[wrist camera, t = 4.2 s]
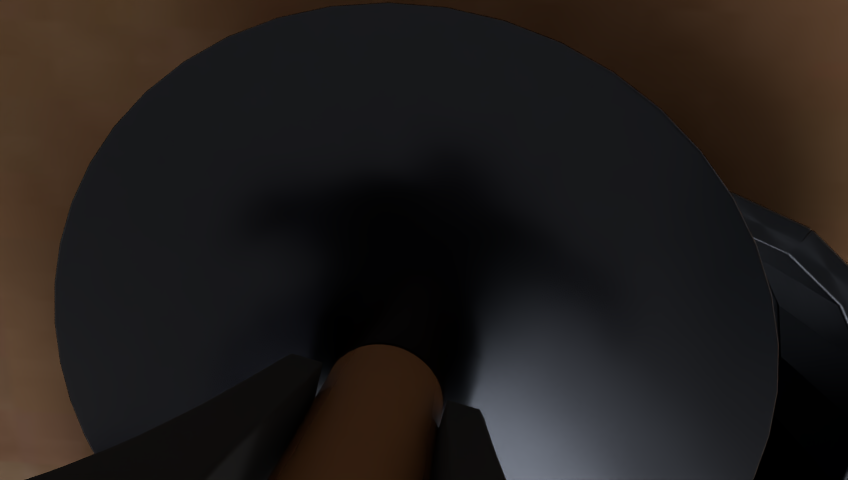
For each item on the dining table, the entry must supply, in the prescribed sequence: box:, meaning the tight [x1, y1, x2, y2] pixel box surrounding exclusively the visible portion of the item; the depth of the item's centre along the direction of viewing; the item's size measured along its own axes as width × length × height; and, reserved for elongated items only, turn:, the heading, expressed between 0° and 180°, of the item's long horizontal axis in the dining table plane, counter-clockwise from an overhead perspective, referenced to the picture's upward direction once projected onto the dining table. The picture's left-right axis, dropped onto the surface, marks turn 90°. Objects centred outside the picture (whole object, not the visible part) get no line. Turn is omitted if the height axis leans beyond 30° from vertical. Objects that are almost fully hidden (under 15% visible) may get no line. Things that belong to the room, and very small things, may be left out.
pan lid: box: [55, 2, 779, 480], centre depth 9 cm, size 15×15×5 cm
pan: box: [730, 191, 848, 480], centre depth 16 cm, size 14×14×4 cm
